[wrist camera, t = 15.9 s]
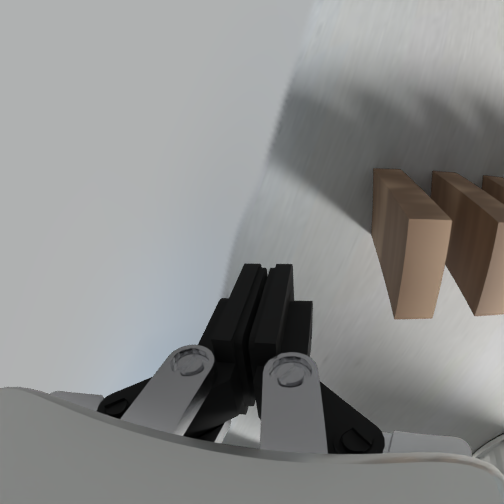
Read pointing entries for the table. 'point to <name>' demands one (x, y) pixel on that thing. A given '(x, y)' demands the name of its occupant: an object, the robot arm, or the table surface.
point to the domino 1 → (409, 243)
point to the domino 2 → (473, 241)
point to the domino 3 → (494, 187)
